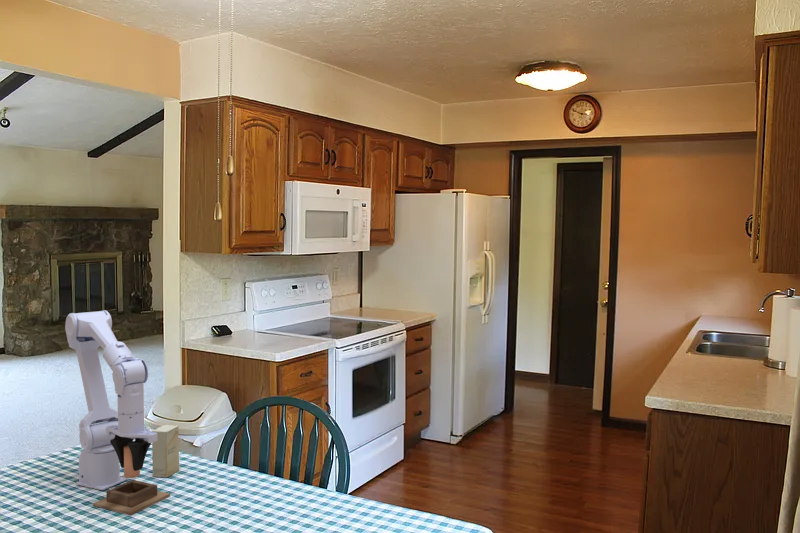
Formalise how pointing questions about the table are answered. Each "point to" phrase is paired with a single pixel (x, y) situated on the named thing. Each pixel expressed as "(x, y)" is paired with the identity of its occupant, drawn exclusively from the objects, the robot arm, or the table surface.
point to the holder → (131, 497)
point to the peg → (129, 464)
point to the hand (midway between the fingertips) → (131, 468)
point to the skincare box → (165, 451)
